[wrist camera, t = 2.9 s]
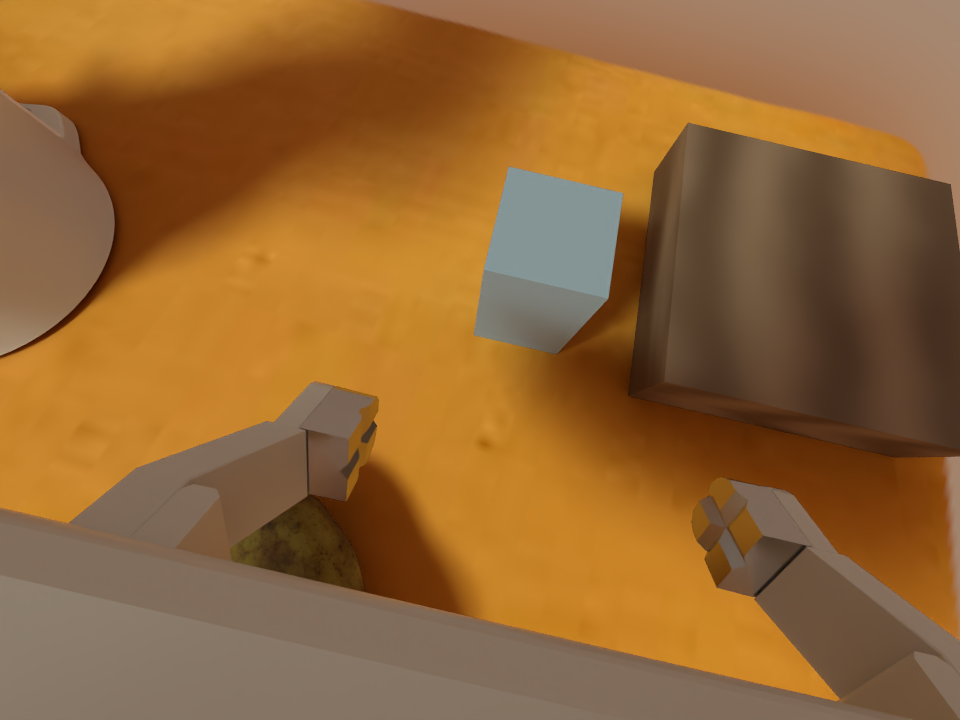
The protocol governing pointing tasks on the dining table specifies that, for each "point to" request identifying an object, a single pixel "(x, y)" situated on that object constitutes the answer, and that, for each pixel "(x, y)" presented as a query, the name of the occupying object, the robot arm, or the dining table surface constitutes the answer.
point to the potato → (303, 547)
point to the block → (547, 260)
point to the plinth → (801, 295)
